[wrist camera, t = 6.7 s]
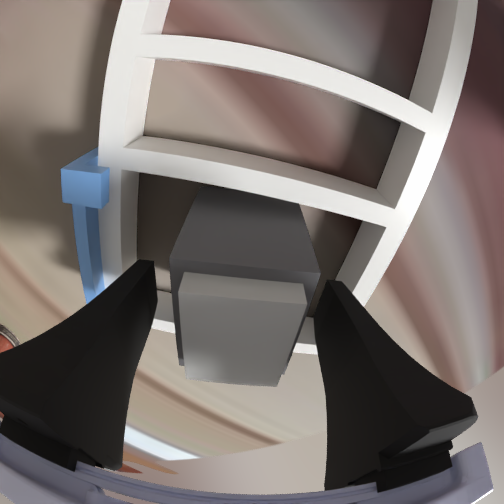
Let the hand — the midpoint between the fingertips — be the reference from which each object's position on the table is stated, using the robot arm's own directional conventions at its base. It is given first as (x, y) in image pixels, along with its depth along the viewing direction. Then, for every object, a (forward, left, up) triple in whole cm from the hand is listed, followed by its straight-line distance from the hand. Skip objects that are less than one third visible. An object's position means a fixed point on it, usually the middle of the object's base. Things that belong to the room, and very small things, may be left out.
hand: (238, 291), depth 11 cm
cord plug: (0, 0, -3) cm, 3 cm away
